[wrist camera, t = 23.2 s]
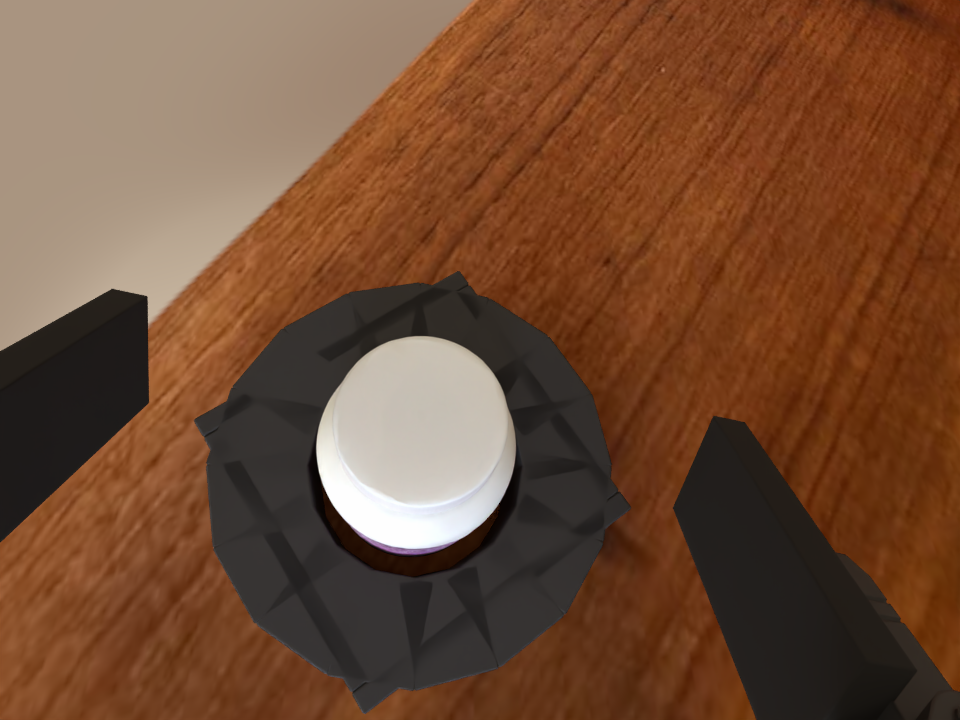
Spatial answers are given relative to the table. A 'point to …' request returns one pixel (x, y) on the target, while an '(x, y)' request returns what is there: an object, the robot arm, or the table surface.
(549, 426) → the dark grey faceted ring
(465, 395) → the pill bottle
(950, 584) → the table surface
